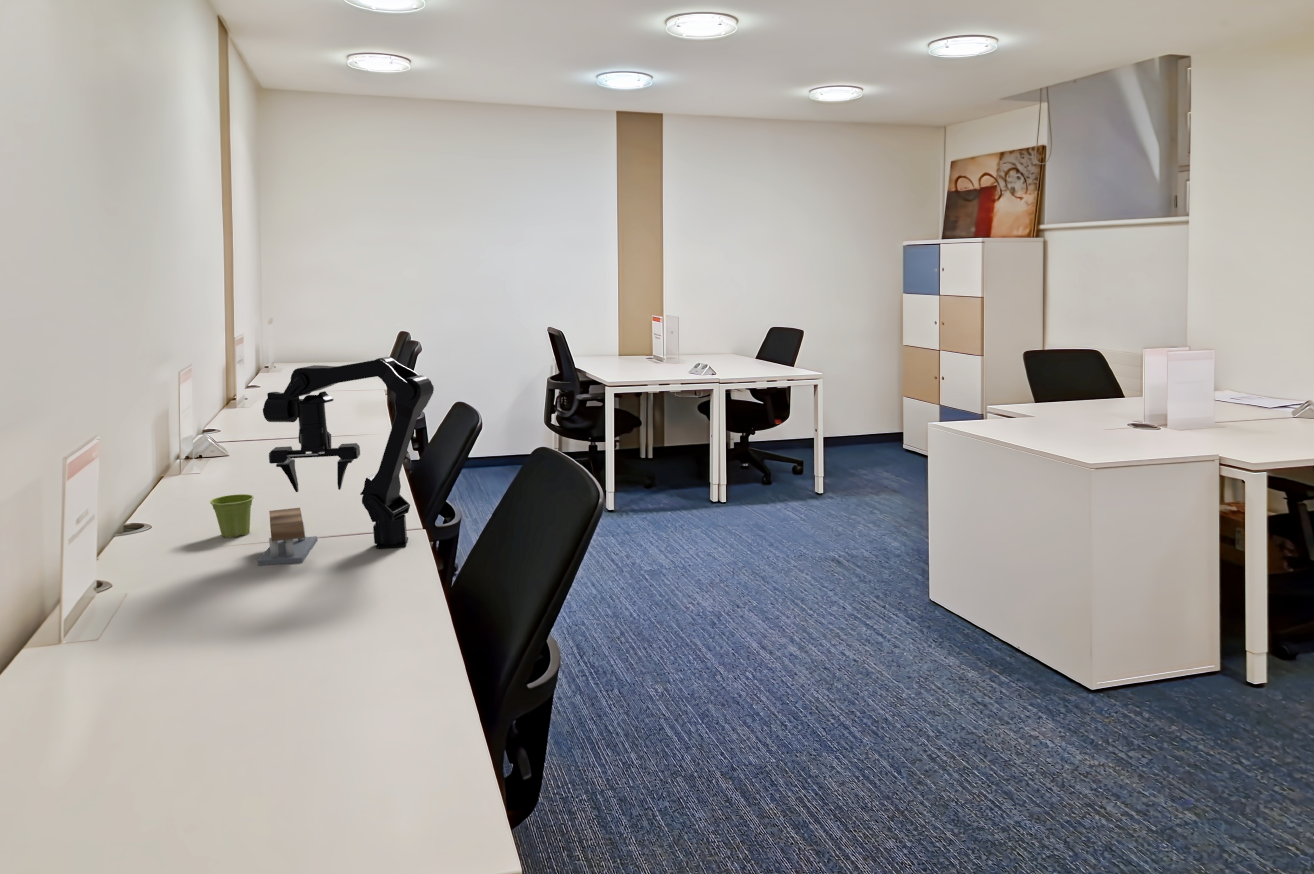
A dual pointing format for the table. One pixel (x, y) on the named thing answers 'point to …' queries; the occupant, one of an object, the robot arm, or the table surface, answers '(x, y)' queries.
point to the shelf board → (286, 524)
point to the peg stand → (287, 550)
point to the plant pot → (233, 514)
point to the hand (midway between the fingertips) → (318, 490)
